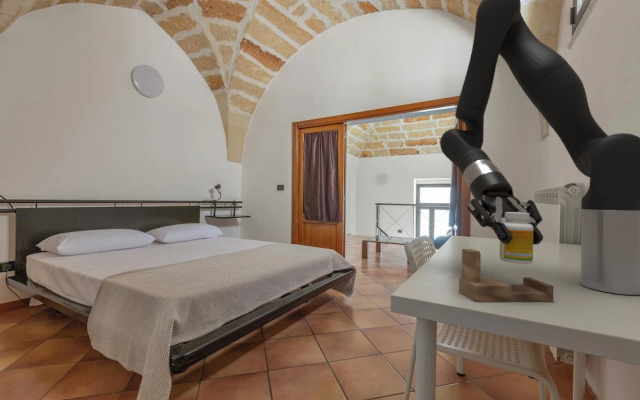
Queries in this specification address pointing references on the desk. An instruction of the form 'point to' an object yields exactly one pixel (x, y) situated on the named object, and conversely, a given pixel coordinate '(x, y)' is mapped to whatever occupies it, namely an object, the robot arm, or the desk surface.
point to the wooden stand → (498, 284)
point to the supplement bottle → (518, 239)
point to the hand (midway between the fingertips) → (523, 241)
